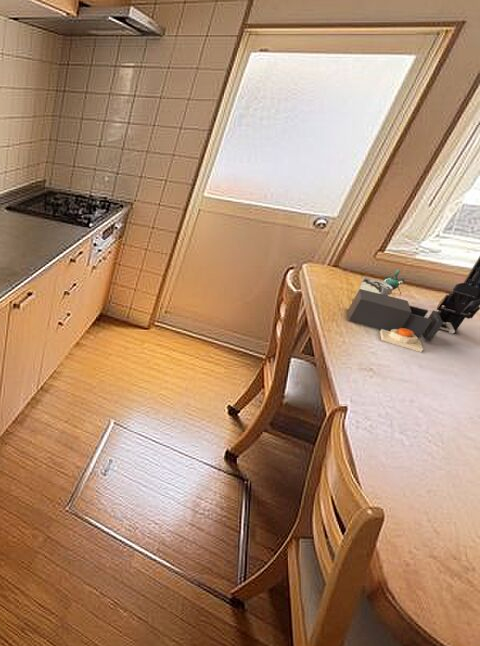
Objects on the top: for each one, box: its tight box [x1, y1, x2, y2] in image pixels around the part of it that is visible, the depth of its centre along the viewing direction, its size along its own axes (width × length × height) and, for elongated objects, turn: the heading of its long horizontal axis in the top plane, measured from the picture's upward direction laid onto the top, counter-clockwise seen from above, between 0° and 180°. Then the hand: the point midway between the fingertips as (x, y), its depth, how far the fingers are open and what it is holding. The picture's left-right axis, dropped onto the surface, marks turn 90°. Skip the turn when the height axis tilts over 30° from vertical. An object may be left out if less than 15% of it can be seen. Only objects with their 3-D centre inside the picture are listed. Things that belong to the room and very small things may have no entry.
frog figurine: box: [382, 269, 405, 296], centre depth 170 cm, size 10×18×15 cm, turn 146°
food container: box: [355, 277, 393, 296], centre depth 164 cm, size 12×6×10 cm, turn 168°
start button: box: [397, 328, 414, 337], centre depth 140 cm, size 4×4×2 cm
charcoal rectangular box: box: [347, 288, 412, 331], centre depth 152 cm, size 14×13×9 cm
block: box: [379, 329, 424, 353], centre depth 141 cm, size 10×8×3 cm
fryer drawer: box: [402, 304, 455, 342], centre depth 146 cm, size 17×11×7 cm
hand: (464, 311), depth 136 cm, fingers open, 9 cm apart
